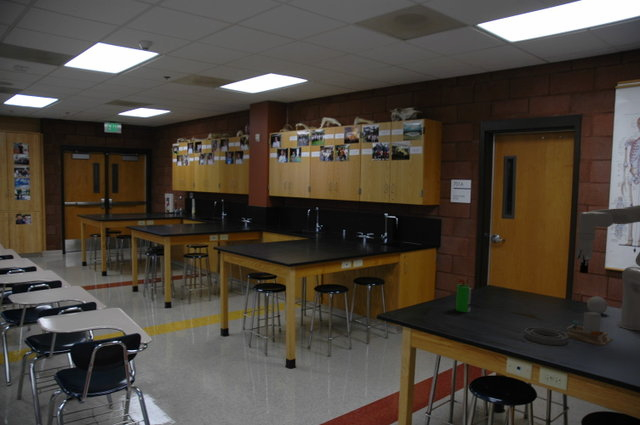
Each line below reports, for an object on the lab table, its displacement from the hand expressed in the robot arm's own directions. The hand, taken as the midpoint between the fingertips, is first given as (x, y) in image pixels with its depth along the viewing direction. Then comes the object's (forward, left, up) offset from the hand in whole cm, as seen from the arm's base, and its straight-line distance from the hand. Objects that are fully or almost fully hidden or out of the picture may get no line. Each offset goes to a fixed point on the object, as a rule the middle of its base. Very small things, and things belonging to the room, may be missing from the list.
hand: (583, 272), depth 236 cm
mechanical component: (+30, -5, -30) cm, 43 cm away
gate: (+12, 0, -28) cm, 31 cm away
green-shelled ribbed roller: (+17, -56, -29) cm, 65 cm away
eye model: (-42, -5, -29) cm, 51 cm away
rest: (+13, +7, -29) cm, 32 cm away
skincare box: (+13, +9, -29) cm, 33 cm away
